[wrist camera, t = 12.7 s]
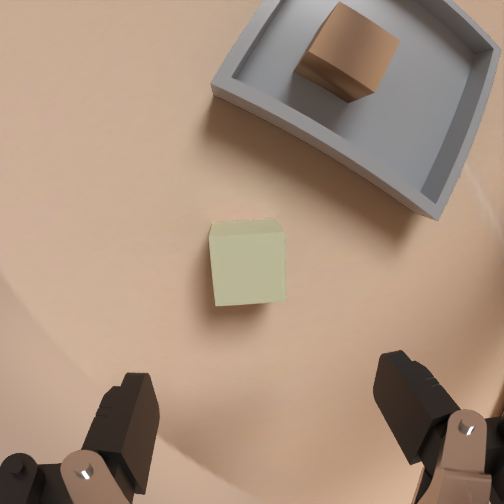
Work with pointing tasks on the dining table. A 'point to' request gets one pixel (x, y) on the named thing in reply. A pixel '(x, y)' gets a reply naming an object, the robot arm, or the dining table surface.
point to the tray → (379, 103)
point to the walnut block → (348, 54)
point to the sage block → (248, 261)
